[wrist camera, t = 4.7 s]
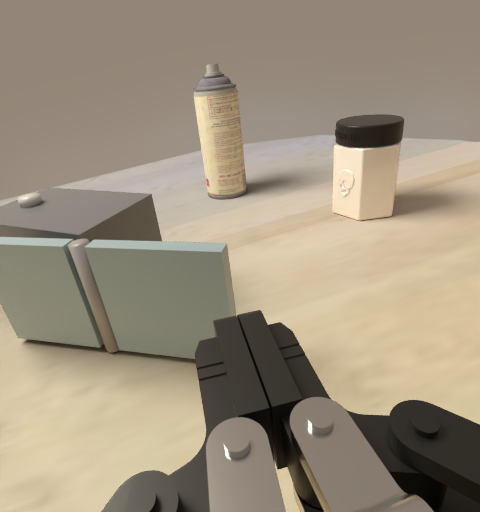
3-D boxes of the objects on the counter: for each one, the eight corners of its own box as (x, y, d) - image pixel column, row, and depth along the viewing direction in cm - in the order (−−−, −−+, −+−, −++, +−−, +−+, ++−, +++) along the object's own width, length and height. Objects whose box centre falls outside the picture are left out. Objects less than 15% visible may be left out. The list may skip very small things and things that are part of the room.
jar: (319, 209, 53) (320, 123, 47) (355, 194, 57) (360, 113, 51) (372, 226, 46) (380, 128, 40) (409, 208, 50) (421, 116, 44)
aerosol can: (238, 183, 67) (225, 62, 58) (253, 193, 62) (241, 61, 52) (203, 191, 65) (184, 67, 56) (215, 202, 60) (196, 66, 50)
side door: (241, 354, 28) (227, 242, 23) (237, 368, 27) (220, 252, 22) (30, 331, 34) (-16, 235, 29) (18, 341, 32) (-32, 243, 28)
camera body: (171, 282, 39) (149, 185, 34) (113, 337, 32) (74, 225, 27) (62, 263, 46) (30, 179, 40) (-6, 305, 38) (-55, 210, 33)
